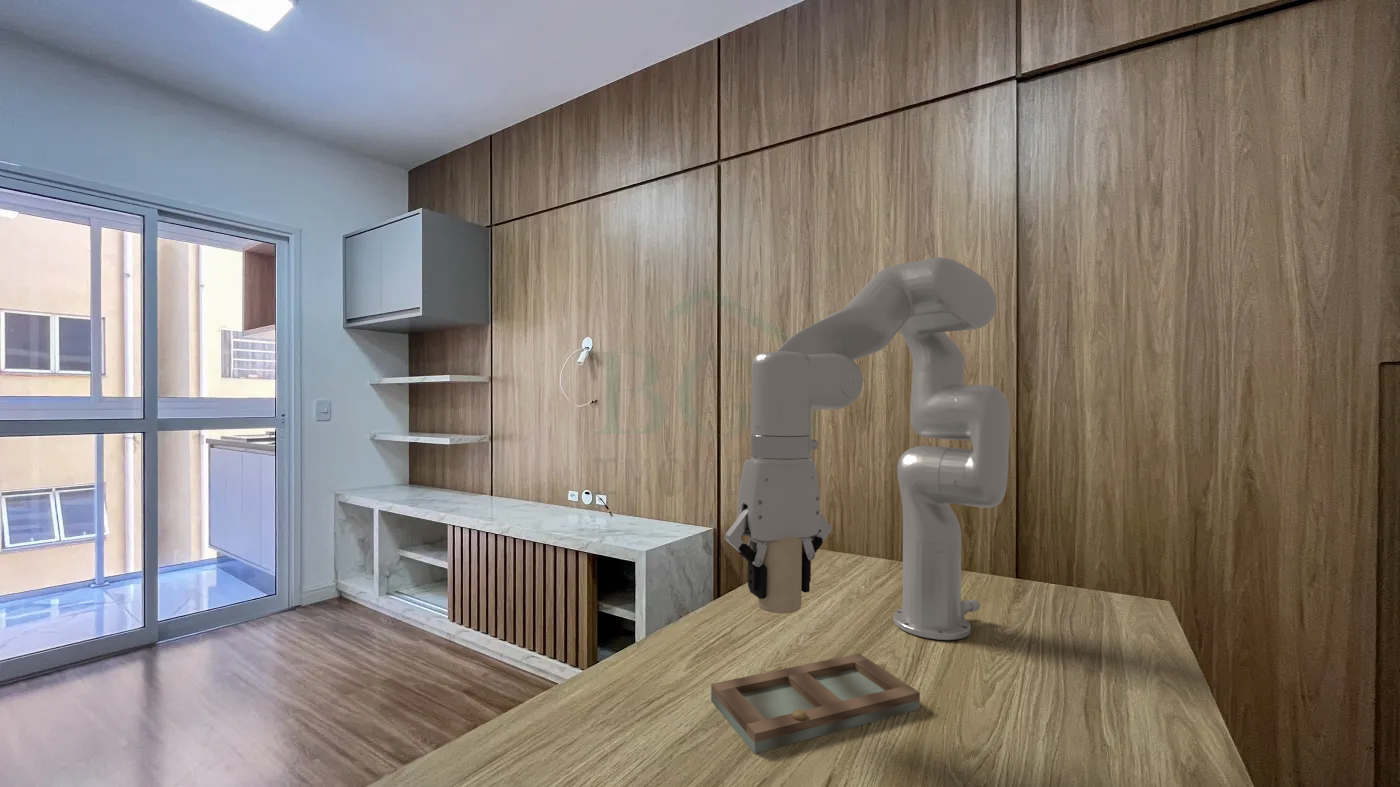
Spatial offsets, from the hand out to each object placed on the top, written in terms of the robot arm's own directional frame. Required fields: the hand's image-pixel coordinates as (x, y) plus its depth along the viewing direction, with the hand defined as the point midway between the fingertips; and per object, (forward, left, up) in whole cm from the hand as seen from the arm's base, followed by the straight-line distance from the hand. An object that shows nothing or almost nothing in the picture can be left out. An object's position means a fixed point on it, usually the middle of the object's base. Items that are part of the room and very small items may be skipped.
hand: (779, 590), depth 72 cm
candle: (0, 0, -2) cm, 2 cm away
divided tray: (-5, 0, -15) cm, 16 cm away
